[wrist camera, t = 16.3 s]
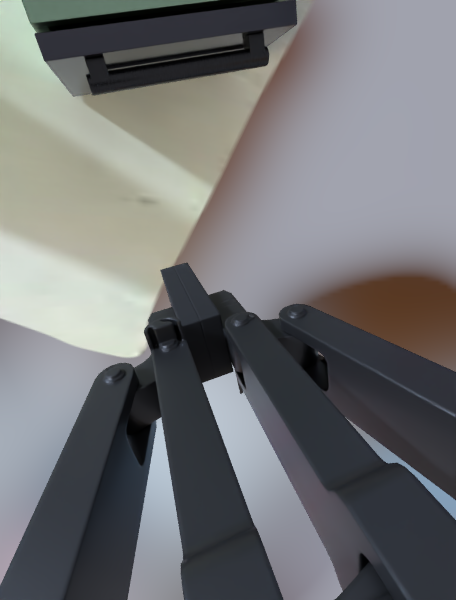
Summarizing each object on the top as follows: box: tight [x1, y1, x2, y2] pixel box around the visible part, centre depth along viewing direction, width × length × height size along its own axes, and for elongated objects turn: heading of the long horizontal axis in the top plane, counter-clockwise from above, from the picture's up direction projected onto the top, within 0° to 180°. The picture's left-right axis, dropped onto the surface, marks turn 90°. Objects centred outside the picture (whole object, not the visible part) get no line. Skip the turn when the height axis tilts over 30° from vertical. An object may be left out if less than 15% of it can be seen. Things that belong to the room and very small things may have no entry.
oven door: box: [35, 0, 297, 97], centre depth 31 cm, size 4×20×16 cm, turn 101°
